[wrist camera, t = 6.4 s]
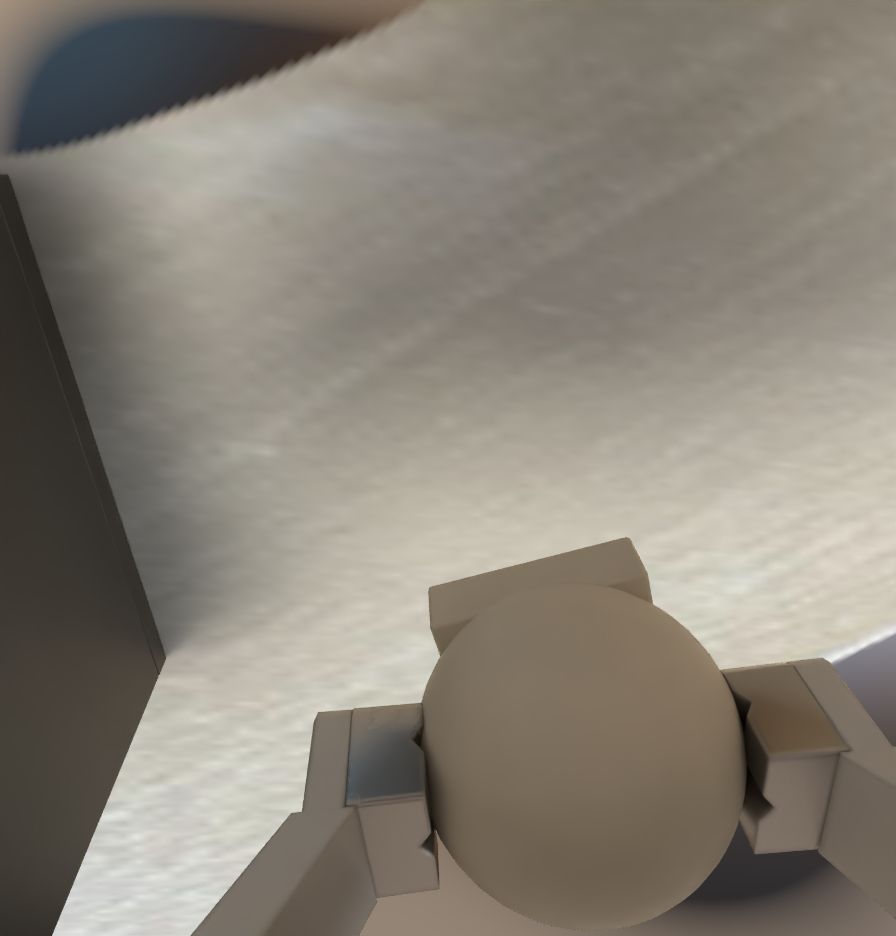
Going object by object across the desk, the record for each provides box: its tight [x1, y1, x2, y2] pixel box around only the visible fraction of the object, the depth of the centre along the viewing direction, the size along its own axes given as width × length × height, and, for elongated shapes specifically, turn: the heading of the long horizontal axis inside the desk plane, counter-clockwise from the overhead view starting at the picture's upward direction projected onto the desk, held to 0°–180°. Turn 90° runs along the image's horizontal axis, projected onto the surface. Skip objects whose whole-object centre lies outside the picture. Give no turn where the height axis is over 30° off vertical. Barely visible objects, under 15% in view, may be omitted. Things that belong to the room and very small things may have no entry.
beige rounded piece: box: [421, 537, 747, 931], centre depth 10 cm, size 4×4×4 cm
